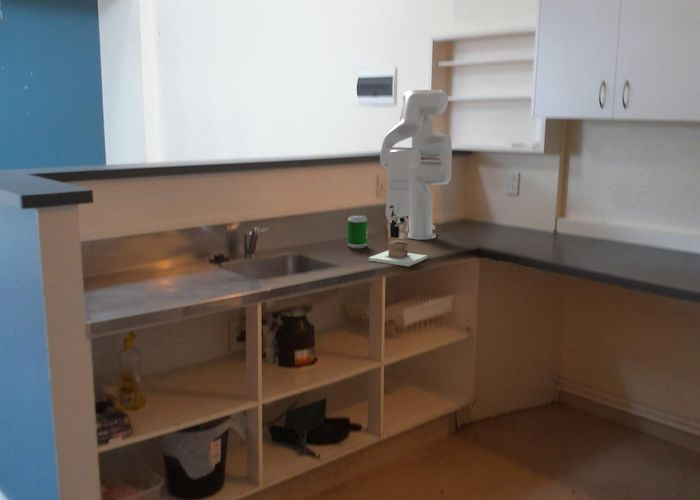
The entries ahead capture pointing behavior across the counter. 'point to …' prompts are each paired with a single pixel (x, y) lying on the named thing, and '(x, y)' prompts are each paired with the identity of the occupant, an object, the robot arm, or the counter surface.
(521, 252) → the counter surface
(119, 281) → the counter surface
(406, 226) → the maple cube
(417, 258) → the build board
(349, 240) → the soda can
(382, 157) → the robot arm
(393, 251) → the walnut cube
